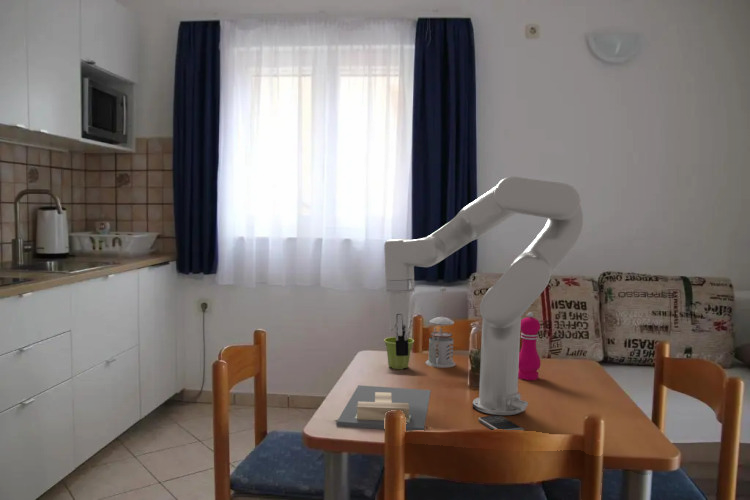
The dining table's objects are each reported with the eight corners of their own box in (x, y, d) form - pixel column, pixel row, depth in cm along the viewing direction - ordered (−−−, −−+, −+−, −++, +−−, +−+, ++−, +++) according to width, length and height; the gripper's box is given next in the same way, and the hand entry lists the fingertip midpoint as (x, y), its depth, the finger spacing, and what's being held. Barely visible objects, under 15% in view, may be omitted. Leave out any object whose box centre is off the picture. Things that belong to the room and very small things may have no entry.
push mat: (358, 388, 175) (358, 385, 175) (430, 393, 173) (430, 390, 173) (336, 425, 146) (336, 421, 146) (423, 432, 143) (424, 427, 143)
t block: (359, 403, 159) (359, 391, 159) (406, 404, 159) (407, 393, 159) (356, 419, 147) (357, 406, 147) (408, 421, 147) (409, 408, 147)
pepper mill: (542, 377, 193) (545, 311, 192) (535, 382, 187) (539, 315, 186) (519, 373, 197) (522, 309, 196) (512, 378, 191) (515, 312, 189)
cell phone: (498, 420, 154) (498, 414, 154) (525, 435, 144) (526, 429, 144) (476, 422, 152) (476, 416, 152) (502, 438, 142) (503, 432, 142)
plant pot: (413, 371, 196) (414, 343, 195) (383, 370, 196) (383, 342, 195) (412, 363, 205) (413, 337, 204) (383, 363, 205) (384, 336, 204)
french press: (459, 362, 209) (461, 286, 207) (449, 370, 198) (452, 290, 197) (430, 358, 213) (433, 284, 211) (419, 366, 202) (422, 288, 200)
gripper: (388, 283, 174) (391, 349, 175) (382, 289, 160) (385, 361, 161) (416, 282, 173) (418, 349, 174) (412, 289, 159) (414, 361, 160)
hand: (402, 354), depth 168 cm, fingers closed
